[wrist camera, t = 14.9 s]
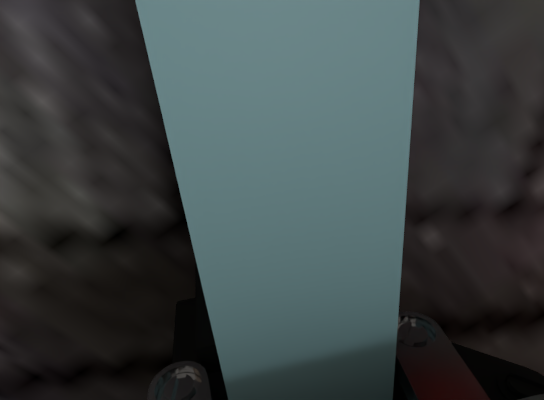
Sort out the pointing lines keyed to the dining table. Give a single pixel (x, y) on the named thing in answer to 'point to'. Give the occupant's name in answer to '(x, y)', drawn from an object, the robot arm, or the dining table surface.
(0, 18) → the dining table surface
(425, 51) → the dining table surface
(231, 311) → the teal gray angled bar
